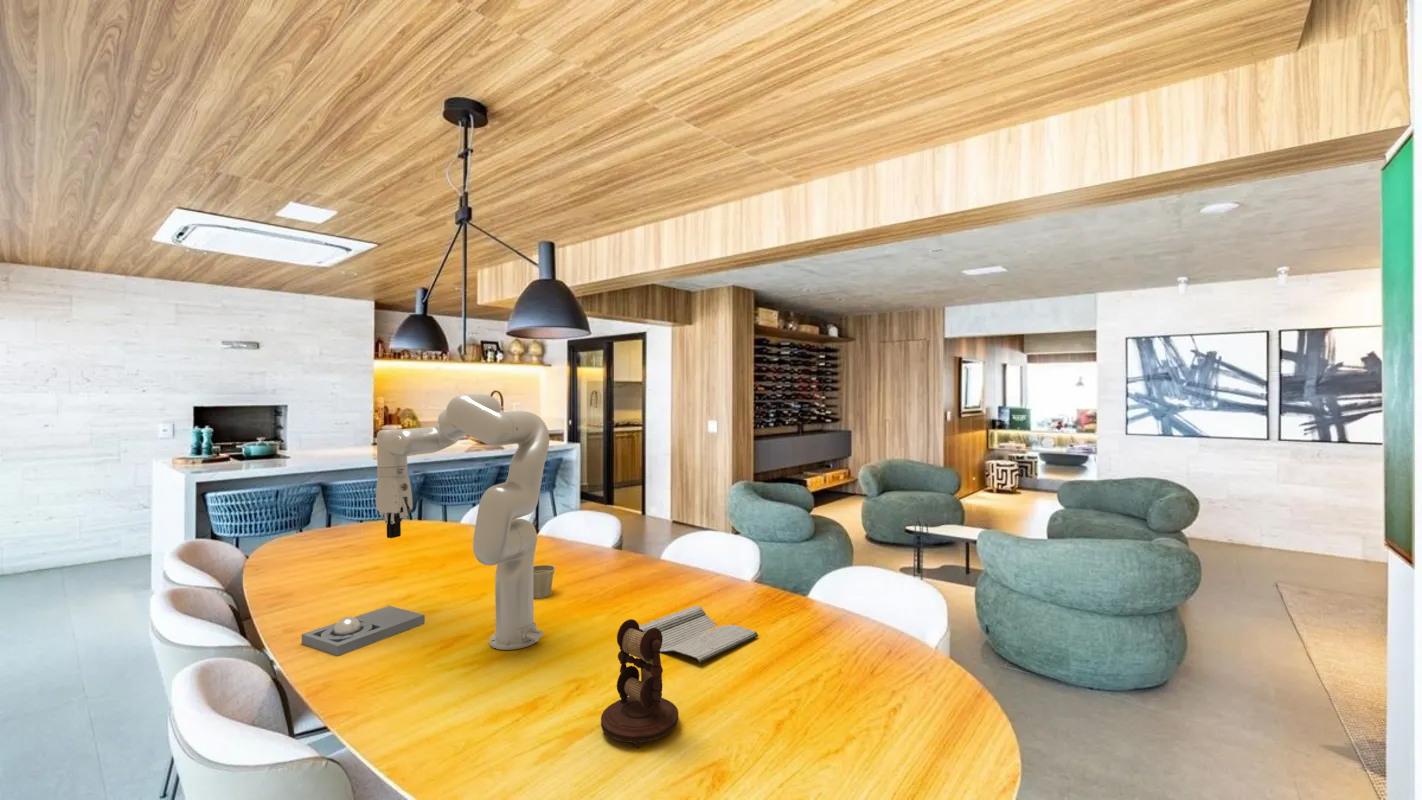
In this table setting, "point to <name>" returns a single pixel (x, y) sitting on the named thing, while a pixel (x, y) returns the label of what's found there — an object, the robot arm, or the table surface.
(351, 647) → the hole board
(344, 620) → the steel ball
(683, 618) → the mat
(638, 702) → the thread spool stand
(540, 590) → the flower pot
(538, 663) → the table surface
